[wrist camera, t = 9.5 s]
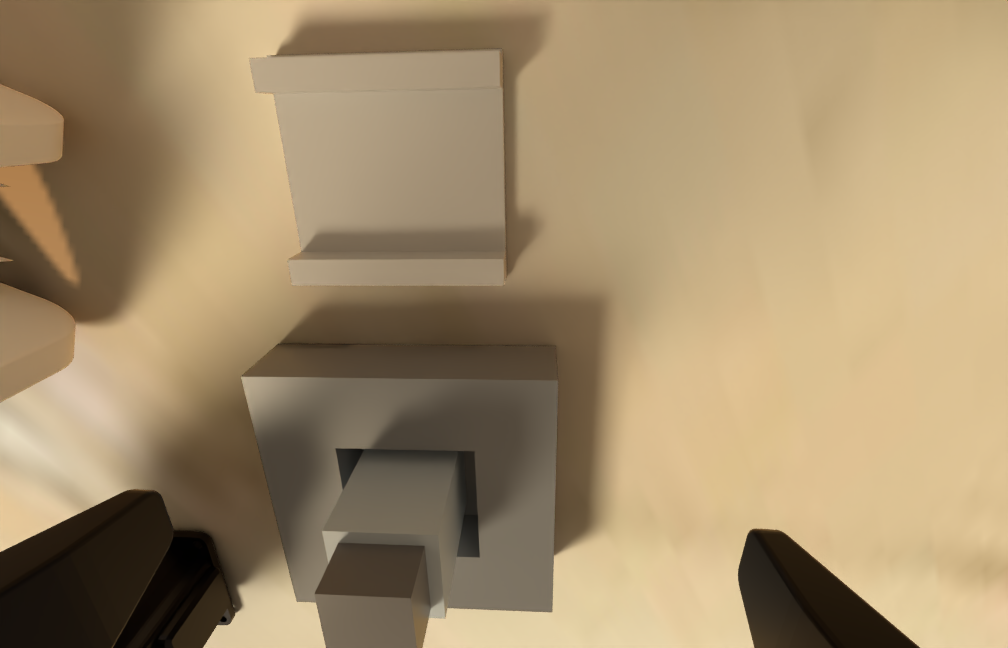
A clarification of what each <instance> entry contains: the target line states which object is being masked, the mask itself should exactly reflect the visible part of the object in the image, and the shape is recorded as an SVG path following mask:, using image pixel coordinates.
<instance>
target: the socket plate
mask: <svg viewBox="0 0 1008 648" xmlns="http://www.w3.org/2000/svg"><path fill="white" fill-rule="evenodd" d="M241 380H242V384H243V388H244V392H245V396H246V400H247V404H248V408H249V412H250V416H251V420H252V424H253V428H254V432H255V436H256V440H257V444H258V448H259V452H260V456H261V460H262V464H263V468H264V472H265V476H266V480H267V484H268V488H269V492H270V496H271V500H272V504H273V508H274V512H275V516H276V520H277V524H278V528H279V532H280V536H281V540H282V544H283V548H284V552H285V556H286V560H287V565H288V569H289V573H290V577H291V581H292V585H293V589H294V593H295V597H296V601H297V602H316V599H315V595H314V594H315V591H316V589H317V587H318V585H319V583H320V581H321V579H322V577H323V574H324V572H325V570H326V568H327V566H328V559H327V554H326V549H325V544H324V539H323V534H322V530H323V528H324V526H325V524H326V522H327V520H328V518H329V516H330V514H331V513H332V511H333V509H334V507H335V505H336V503H337V501H338V499H339V497H340V495H341V493H342V491H343V490H344V488H345V486H346V484H347V482H348V480H349V478H350V476H351V474H352V472H353V470H354V468H355V466H356V465H357V463H358V461H359V459H360V457H361V455H362V453H363V451H364V449H389V450H435V451H464V462H465V481H466V500H467V502H466V508H465V513H464V519H463V524H462V530H461V535H460V541H459V546H458V552H457V557H456V563H455V568H454V574H453V579H452V585H451V590H450V596H449V601H448V607H447V608H460V609H484V610H508V611H532V612H552V602H553V564H554V525H555V487H556V448H557V409H558V372H557V360H556V348H555V346H500V345H381V344H278V345H276V346H275V347H274V348H273V349H272V350H271V351H269V352H268V353H267V354H266V355H265V356H264V357H263V358H261V359H260V360H259V361H258V362H257V363H256V364H255V365H253V366H252V367H251V368H250V369H249V370H248V371H247V372H245V373H244V374H243V375H242V376H241Z"/></svg>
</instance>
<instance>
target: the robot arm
mask: <svg viewBox="0 0 1008 648" xmlns="http://www.w3.org/2000/svg"><path fill="white" fill-rule="evenodd" d="M738 581H739V587H740V591H741V595H742V599H743V603H744V607H745V611H746V615H747V620H748V624H749V628H750V632H751V636H752V640H753V644H754V648H920V647H919V646H917V645H916V644H915V643H914V642H913V641H912V640H910V639H909V638H908V637H907V636H906V635H904V634H903V633H902V632H901V631H900V630H899V629H897V628H896V627H895V626H894V625H893V624H891V623H890V622H889V621H888V620H887V619H886V618H884V617H883V616H882V615H881V614H880V613H879V612H877V611H876V610H875V609H874V608H873V607H871V606H870V605H869V604H868V603H867V602H866V601H864V600H863V599H862V598H861V597H860V596H858V595H857V594H856V593H855V592H854V591H853V590H851V589H850V588H849V587H848V586H847V585H845V584H844V583H843V582H842V581H841V580H840V579H838V578H837V577H836V576H835V575H834V574H833V573H831V572H830V571H829V570H828V569H827V568H825V567H824V566H823V565H822V564H821V563H820V562H818V561H817V560H816V559H815V558H814V557H812V556H811V555H810V554H809V553H808V552H807V551H805V550H804V549H803V548H802V547H801V546H800V545H798V544H797V543H796V542H795V541H794V540H792V539H791V538H790V537H789V536H788V535H786V534H785V533H783V532H782V531H779V530H770V529H752V530H750V532H749V533H748V535H747V538H746V542H745V546H744V550H743V553H742V557H741V561H740V565H739V569H738ZM234 616H235V611H234V608H233V605H232V601H231V598H230V595H229V592H228V589H227V586H226V583H225V580H224V576H223V573H222V570H221V567H220V564H219V561H218V558H217V554H216V551H215V548H214V545H213V542H212V539H211V537H210V536H209V535H208V534H206V533H204V532H198V531H173V527H172V524H171V521H170V518H169V515H168V512H167V510H166V507H165V504H164V501H163V498H162V496H161V495H160V494H159V493H158V492H157V491H154V490H139V489H133V490H127V491H125V492H123V493H120V494H118V495H116V496H114V497H112V498H110V499H108V500H106V501H104V502H102V503H100V504H98V505H96V506H94V507H92V508H90V509H88V510H86V511H84V512H82V513H80V514H77V515H75V516H73V517H71V518H69V519H67V520H65V521H63V522H61V523H59V524H57V525H55V526H53V527H51V528H49V529H47V530H45V531H43V532H41V533H39V534H37V535H34V536H32V537H30V538H28V539H26V540H24V541H22V542H20V543H18V544H16V545H14V546H12V547H10V548H8V549H6V550H4V551H2V552H0V648H203V647H204V645H205V644H206V642H207V640H208V639H209V637H210V636H211V634H212V632H213V631H214V629H215V628H216V626H217V625H228V624H230V623H231V621H232V620H233V618H234Z"/></svg>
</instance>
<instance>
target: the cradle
mask: <svg viewBox="0 0 1008 648" xmlns="http://www.w3.org/2000/svg"><path fill="white" fill-rule="evenodd" d="M249 61H250V67H251V72H252V77H253V82H254V88H255V93H265V94H273V95H274V100H275V106H276V112H277V117H278V123H279V129H280V134H281V140H282V145H283V151H284V157H285V162H286V168H287V174H288V179H289V185H290V191H291V196H292V202H293V207H294V213H295V219H296V224H297V230H298V236H299V241H300V247H301V252H300V253H298V254H297V255H295V256H293V257H291V258H289V259H288V260H287V262H288V267H289V272H290V277H291V283H292V286H504V283H505V281H506V278H507V269H506V212H505V154H504V97H503V50H502V48H501V49H467V50H433V51H399V52H365V53H331V54H297V55H267V57H266V58H249Z"/></svg>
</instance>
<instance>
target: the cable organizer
mask: <svg viewBox="0 0 1008 648" xmlns="http://www.w3.org/2000/svg"><path fill="white" fill-rule="evenodd" d="M63 129H64V119H63V117H62V115H61V114H60V113H59V112H58V111H56V110H55V109H53V108H52V107H50V106H49V105H47V104H45V103H43V102H41V101H39V100H37V99H35V98H33V97H30V96H28V95H26V94H23V93H21V92H18V91H16V90H14V89H11V88H9V87H6V86H4V85H1V84H0V167H9V166H19V165H31V164H42V163H50V162H55V161H58V160H59V159H60V158H61V157H62V152H63ZM0 186H3V187H6V186H7V185H3V184H0ZM7 187H8V186H7ZM4 261H14V260H11V259H7V258H3V257H0V262H4ZM75 328H76V323H75V321H74V318H73V317H72V316H71V315H70V314H69V313H68V312H67V311H66V310H65V309H63V308H62V307H60V306H58V305H57V304H55V303H53V302H51V301H48V300H46V299H43V298H41V297H38V296H35V295H33V294H30V293H27V292H24V291H22V290H19V289H16V288H14V287H11V286H8V285H6V284H3V283H0V402H2V401H4V400H6V399H8V398H10V397H12V396H14V395H16V394H17V393H19V392H21V391H23V390H25V389H27V388H29V387H31V386H33V385H34V384H36V383H38V382H40V381H42V380H44V379H46V378H48V377H50V376H51V375H53V374H55V373H57V372H59V371H61V370H63V369H64V368H66V367H67V366H68V365H69V364H70V363H71V362H72V360H73V358H74V344H75Z"/></svg>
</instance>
